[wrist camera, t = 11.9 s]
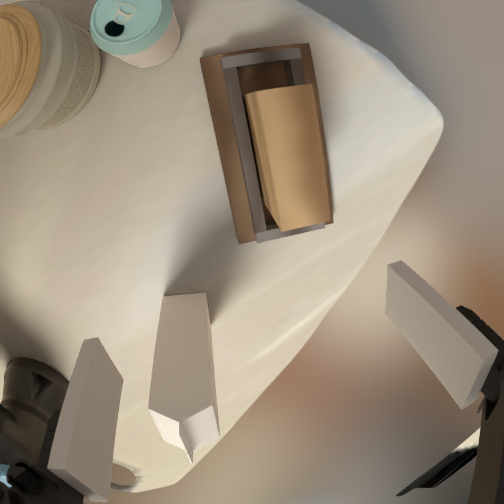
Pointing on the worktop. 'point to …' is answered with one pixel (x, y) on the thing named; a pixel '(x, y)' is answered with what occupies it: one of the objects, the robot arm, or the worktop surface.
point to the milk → (184, 374)
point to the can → (136, 30)
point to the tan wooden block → (288, 155)
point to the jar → (43, 68)
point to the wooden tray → (237, 133)
